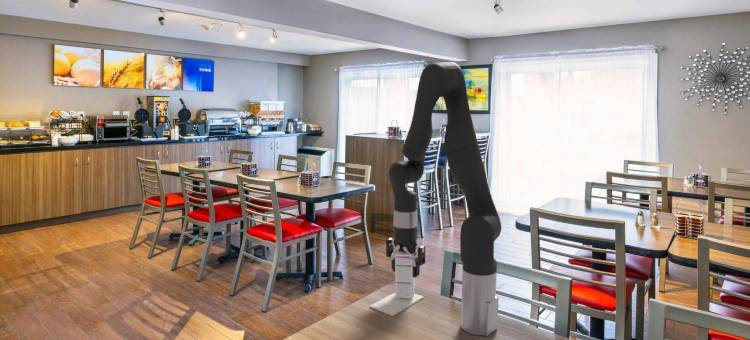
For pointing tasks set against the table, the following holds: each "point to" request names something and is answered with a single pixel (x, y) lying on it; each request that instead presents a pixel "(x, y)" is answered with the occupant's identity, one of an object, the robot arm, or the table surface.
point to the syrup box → (404, 276)
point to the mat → (395, 304)
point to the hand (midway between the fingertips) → (405, 273)
